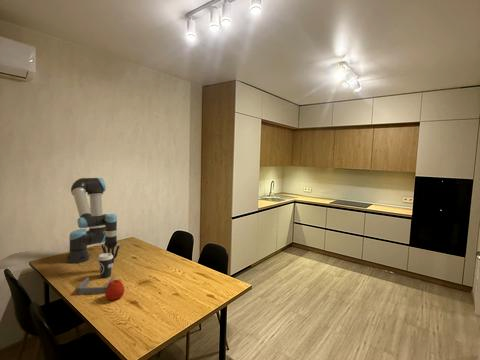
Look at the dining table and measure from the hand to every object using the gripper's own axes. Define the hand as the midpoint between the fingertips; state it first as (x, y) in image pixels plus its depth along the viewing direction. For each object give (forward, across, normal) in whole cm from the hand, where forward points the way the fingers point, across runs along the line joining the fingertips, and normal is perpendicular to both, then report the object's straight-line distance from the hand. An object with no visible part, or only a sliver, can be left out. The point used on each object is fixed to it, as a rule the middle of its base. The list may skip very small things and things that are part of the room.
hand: (110, 267), depth 190 cm
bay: (+2, 0, -26) cm, 26 cm away
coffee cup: (+2, 0, -10) cm, 10 cm away
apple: (+2, +15, -39) cm, 42 cm away
